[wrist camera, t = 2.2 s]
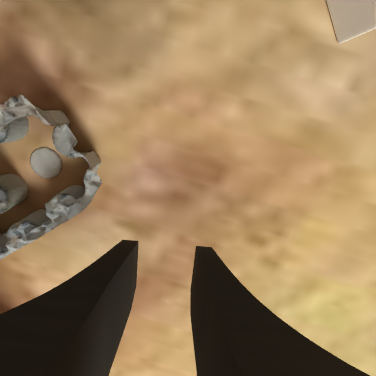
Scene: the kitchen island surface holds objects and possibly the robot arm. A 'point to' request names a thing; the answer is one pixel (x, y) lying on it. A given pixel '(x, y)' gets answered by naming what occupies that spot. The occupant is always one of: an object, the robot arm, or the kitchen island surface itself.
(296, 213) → the kitchen island surface
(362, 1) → the milk
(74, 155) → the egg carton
